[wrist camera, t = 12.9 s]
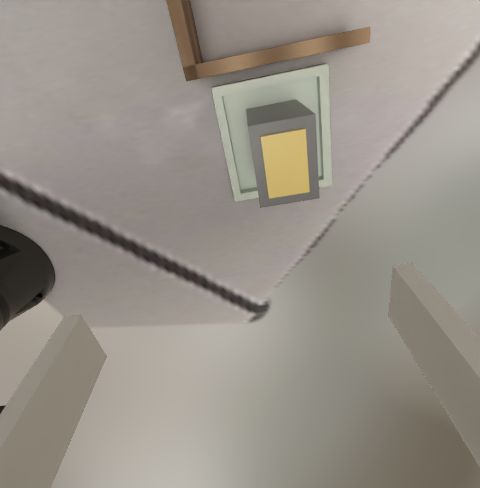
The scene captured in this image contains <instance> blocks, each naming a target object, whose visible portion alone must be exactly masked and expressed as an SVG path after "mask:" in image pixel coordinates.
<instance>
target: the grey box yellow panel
mask: <svg viewBox="0 0 480 488" xmlns="http://www.w3.org/2000/svg"><path fill="white" fill-rule="evenodd" d="M246 114H247V124H248V131H249V138H250V144H251V151H252V157H253V164H254V170H255V176H256V183H257V189H258V196H259V202H260V208H261V207H267V206H274V205H280V204H286V203H292V202H299V201H305V200H311V199H317V198H319V177H318V155H317V132H316V114H315V113H314V112H312V111H311V110H310V109H308V108H307V107H306V106H304V105H303V104H302V103H300V102H299V101H298V100H290V101H285V102H280V103H275V104H270V105H264V106H259V107H254V108H249V109H246Z"/></svg>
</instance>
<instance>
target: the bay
mask: <svg viewBox="0 0 480 488" xmlns="http://www.w3.org/2000/svg"><path fill="white" fill-rule="evenodd" d="M167 4H168V8H169V12H170V16H171V20H172V25H173V29H174V33H175V37H176V41H177V45H178V49H179V53H180V57H181V62H182V66H183V70H184V74H185V78H186V81H191V80H195V79H200V78H205V77H210V76H214V75H219V74H224V73H228V72H233V71H238V70H243V69H247V68H252V67H257V66H261V65H266V64H271V63H276V62H280V61H285V60H290V59H295V58H299V57H304V56H309V55H313V54H318V53H323V52H328V51H332V50H337V49H342V48H346V47H351V46H356V45H361V44H365V43H370V27H366V28H362V29H357V30H352V31H348V32H343V33H339V34H334V35H329V36H325V37H320V38H315V39H311V40H306V41H302V42H297V43H292V44H288V45H283V46H279V47H274V48H269V49H265V50H260V51H255V52H251V53H246V54H242V55H237V56H232V57H228V58H223V59H219V60H214V61H209V62H205V63H203V60H202V56H201V51H200V46H199V42H198V37H197V32H196V27H195V23H194V18H193V13H192V9H191V4H190V0H167Z"/></svg>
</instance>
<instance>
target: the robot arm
mask: <svg viewBox="0 0 480 488" xmlns="http://www.w3.org/2000/svg"><path fill="white" fill-rule="evenodd" d="M54 280H55V275H54V270H53V267H52V264H51V262H50V260H49V259H48V257H47V256H46V255H45V253H44V252H43V251H42V250H41V249H40V248H39V247H38V246H37V245H36V244H35V243H34V242H32V241H31V240H29V239H28V238H27V237H25V236H23V235H21V234H20V233H17V232H15V231H13V230H10V229H8V228H5V227H1V226H0V330H1V329H2V328H3V327H4V326H5V325H6V324H7V323H8V322H9V321H10V320H12V319H13V318H15V317H17V316H19V315H20V314H22V313H24V312H26V311H27V310H29V309H31V308H32V307H34V306H36V305H37V304H39V303H40V302H41V301H42V300H43V299H44V298H45V297H46V296H47V294H48V293H49V292H50V291H51V289H52V287H53V285H54ZM388 316H389V318H390V319H391V321H392V323H393V324H394V326H395V328H396V329H397V331H398V333H399V334H400V336H401V338H402V339H403V341H404V343H405V344H406V346H407V348H408V349H409V351H410V353H411V354H412V356H413V358H414V359H415V361H416V362H417V364H418V366H419V367H420V369H421V371H422V372H423V374H424V376H425V377H426V379H427V381H428V382H429V384H430V386H431V387H432V389H433V391H434V392H435V394H436V395H437V397H438V399H439V400H440V402H441V403H442V405H443V407H444V409H445V410H446V412H447V414H448V415H449V417H450V419H451V420H452V422H453V424H454V425H455V427H456V429H457V430H458V432H459V433H460V435H461V437H462V438H463V440H464V442H465V443H466V445H467V447H468V448H469V450H470V452H471V453H472V455H473V457H474V458H475V460H476V462H477V463H478V465H479V467H480V338H479V337H478V336H477V335H476V334H475V333H474V331H473V330H472V329H471V328H470V327H469V326H468V325H467V324H466V322H465V321H464V320H463V319H462V318H461V317H460V316H459V314H458V313H457V312H456V311H455V310H454V309H453V308H452V307H451V305H450V304H449V303H448V302H447V301H446V300H445V299H444V297H443V296H442V295H441V294H440V293H439V292H438V291H437V290H436V288H435V287H434V286H433V285H432V284H431V283H430V282H429V281H428V279H427V278H426V277H425V276H424V275H423V274H422V273H421V271H420V270H419V269H418V268H417V267H416V266H415V265H414V264H413V263H407V264H400V265H394V266H393V269H392V280H391V291H390V303H389V314H388ZM106 357H107V356H106V354H105V353H104V351H103V349H102V348H101V346H100V344H99V343H98V341H97V340H96V338H95V337H94V335H93V333H92V332H91V330H90V328H89V327H88V325H87V323H86V322H85V320H84V319H83V317H82V315H81V314H80V315H74V316H67V317H64V318H63V319H62V321H61V323H60V324H59V326H58V327H57V329H56V330H55V332H54V333H53V335H52V336H51V338H50V339H49V341H48V342H47V344H46V345H45V347H44V349H43V350H42V351H41V353H40V355H39V356H38V358H37V359H36V361H35V362H34V364H33V365H32V367H31V368H30V370H29V371H28V373H27V374H26V376H25V377H24V379H23V380H22V382H21V383H20V385H19V387H18V388H17V390H16V391H15V393H14V394H13V396H12V397H11V399H10V400H9V402H8V403H7V405H5V406H0V488H51V485H52V483H53V481H54V479H55V476H56V474H57V472H58V469H59V467H60V464H61V462H62V460H63V457H64V455H65V453H66V451H67V448H68V446H69V444H70V441H71V439H72V436H73V434H74V432H75V429H76V427H77V425H78V422H79V420H80V418H81V415H82V413H83V411H84V408H85V406H86V404H87V401H88V399H89V397H90V394H91V392H92V390H93V387H94V385H95V382H96V380H97V378H98V376H99V373H100V371H101V368H102V366H103V364H104V362H105V359H106Z"/></svg>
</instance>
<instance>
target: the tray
mask: <svg viewBox="0 0 480 488" xmlns="http://www.w3.org/2000/svg"><path fill="white" fill-rule="evenodd" d="M211 90H212V94H213V99H214V104H215V109H216V114H217V119H218V123H219V128H220V133H221V138H222V143H223V147H224V152H225V157H226V162H227V167H228V171H229V176H230V181H231V186H232V191H233V195H234V200H235V202H237V201H243V200H249V199H255V198H259V196H258V189H257V183H256V176H255V170H254V164H253V157H252V151H251V144H250V138H249V131H248V124H247V114H246V109H249V108H254V107H259V106H264V105H270V104H275V103H280V102H285V101H290V100H298V101H299V102H300V103H302V104H303V105H304V106H306V107H307V108H308V109H310V110H311V111H312V112H314V113H315V114H316V132H317V155H318V177H319V187H325V186H331V185H332V170H331V136H330V103H329V69H328V64H320V65H315V66H311V67H306V68H301V69H296V70H291V71H287V72H282V73H277V74H272V75H267V76H262V77H258V78H253V79H248V80H243V81H238V82H234V83H229V84H224V85H219V86H214V87H212V88H211Z"/></svg>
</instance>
